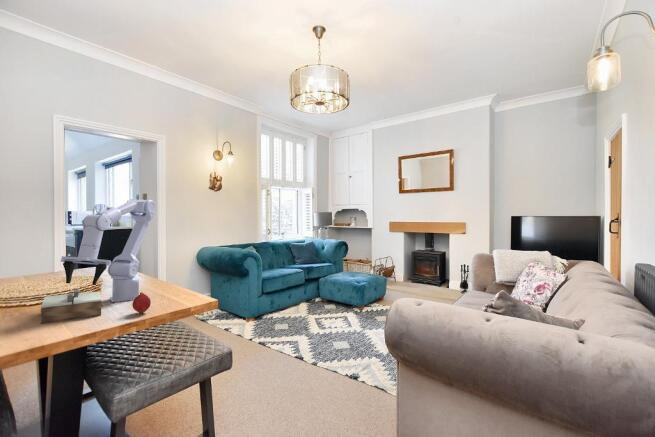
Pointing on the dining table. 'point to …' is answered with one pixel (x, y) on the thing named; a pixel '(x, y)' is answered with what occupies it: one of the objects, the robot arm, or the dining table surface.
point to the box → (70, 311)
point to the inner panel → (86, 297)
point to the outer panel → (57, 300)
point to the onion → (141, 303)
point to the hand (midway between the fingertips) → (81, 284)
